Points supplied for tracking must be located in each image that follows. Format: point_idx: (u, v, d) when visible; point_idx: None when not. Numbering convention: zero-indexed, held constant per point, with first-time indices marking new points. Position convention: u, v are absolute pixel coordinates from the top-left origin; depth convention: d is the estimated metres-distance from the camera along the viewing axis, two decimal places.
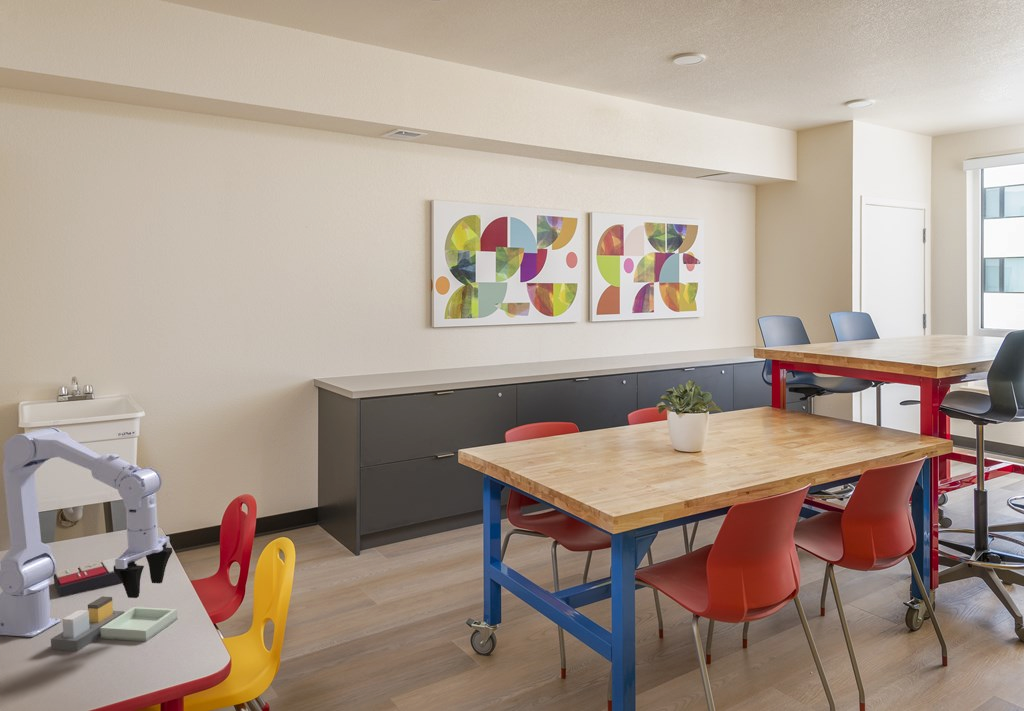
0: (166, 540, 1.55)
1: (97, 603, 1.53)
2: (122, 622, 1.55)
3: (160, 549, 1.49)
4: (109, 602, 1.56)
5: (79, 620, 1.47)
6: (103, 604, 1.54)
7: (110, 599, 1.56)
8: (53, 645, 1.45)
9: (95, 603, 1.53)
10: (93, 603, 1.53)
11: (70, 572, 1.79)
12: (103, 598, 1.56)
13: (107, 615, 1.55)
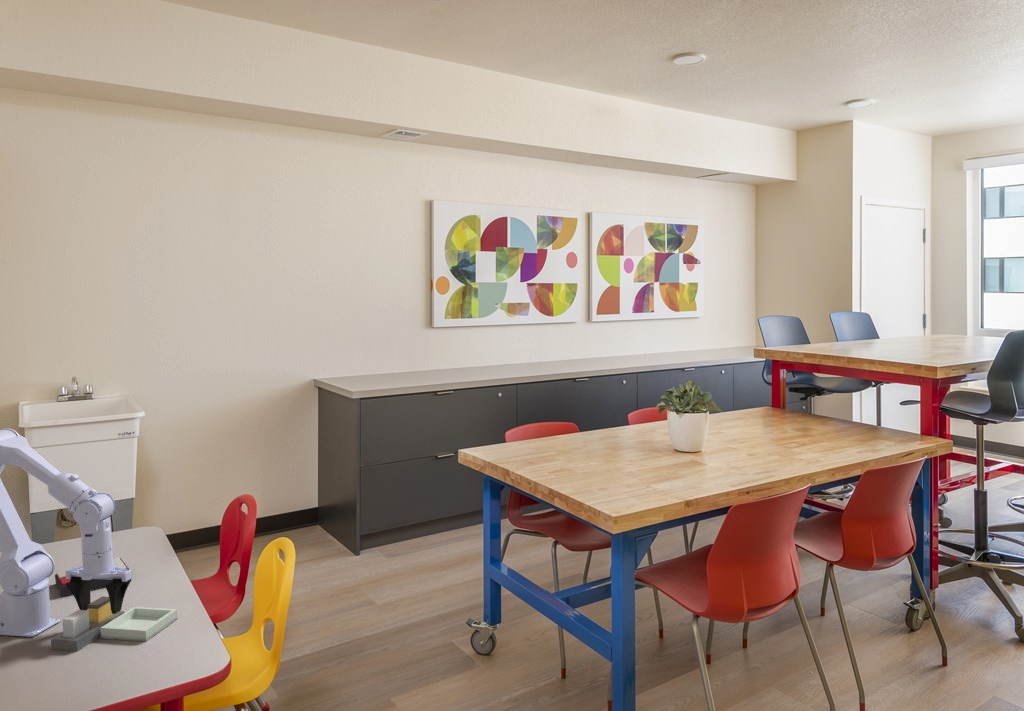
0: (120, 575, 1.52)
1: (97, 603, 1.53)
2: (122, 622, 1.55)
3: (84, 578, 1.50)
4: (109, 602, 1.56)
5: (79, 620, 1.47)
6: (103, 604, 1.54)
7: None
8: (53, 645, 1.45)
9: (95, 603, 1.53)
10: (93, 603, 1.53)
11: None
12: (103, 598, 1.56)
13: (107, 615, 1.55)
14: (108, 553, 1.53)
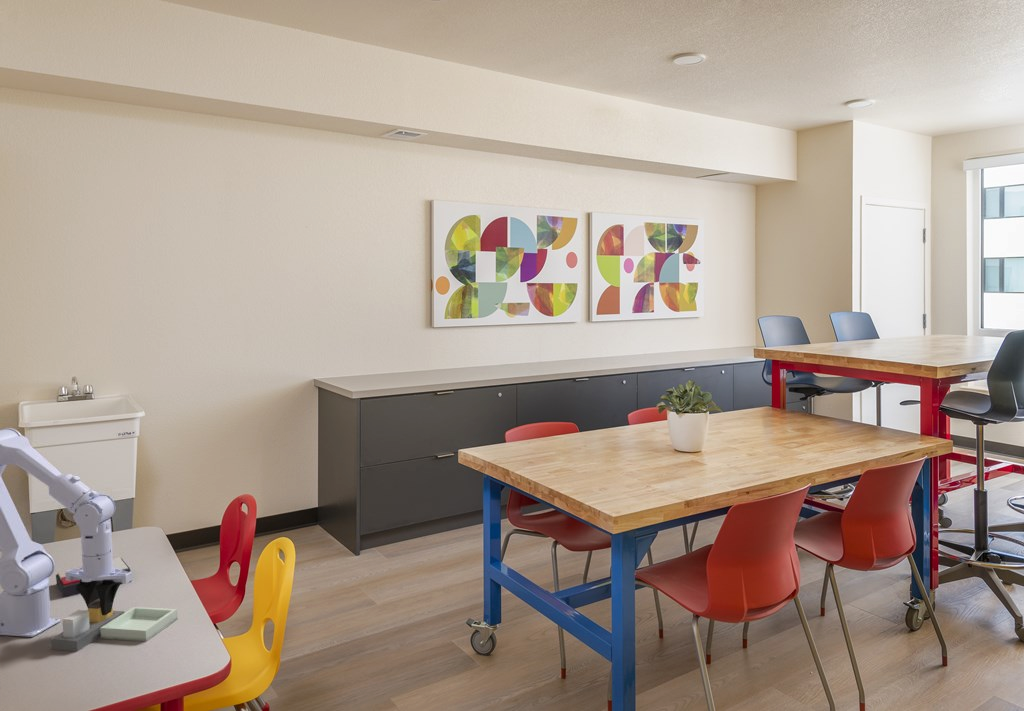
0: (120, 577, 1.52)
1: (97, 603, 1.53)
2: (122, 622, 1.55)
3: (84, 580, 1.50)
4: None
5: (79, 620, 1.47)
6: None
7: None
8: (53, 645, 1.45)
9: (95, 603, 1.53)
10: (93, 603, 1.53)
11: None
12: None
13: (107, 615, 1.55)
14: (108, 555, 1.53)
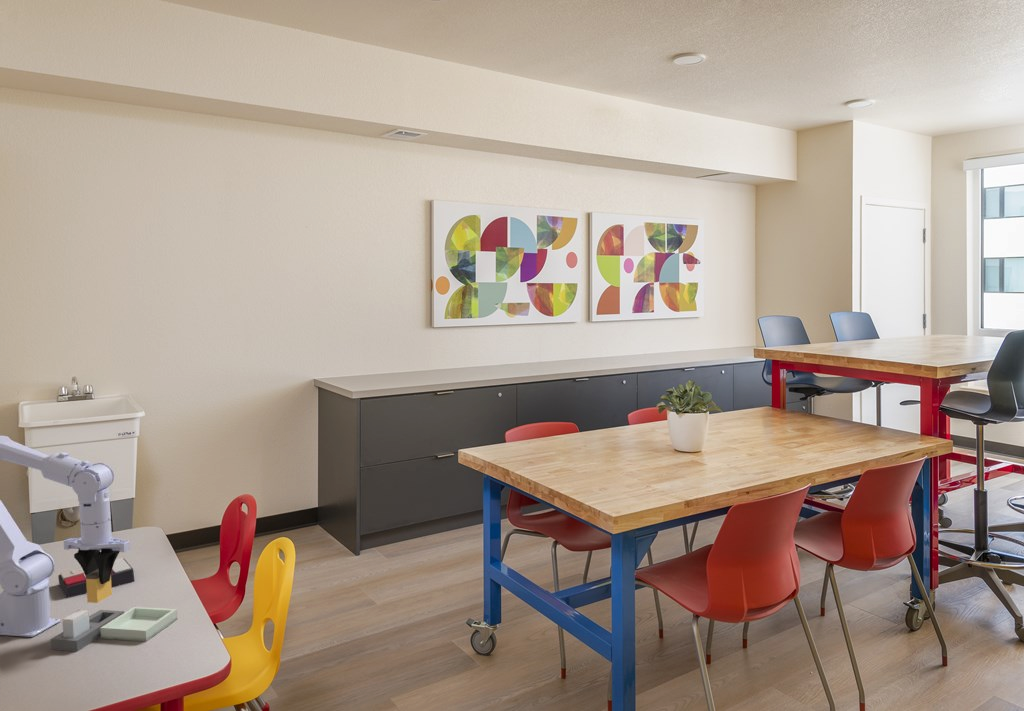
0: (118, 545, 1.52)
1: (95, 574, 1.53)
2: (122, 622, 1.55)
3: (82, 548, 1.50)
4: None
5: (79, 620, 1.47)
6: None
7: None
8: (53, 645, 1.45)
9: (94, 573, 1.53)
10: (91, 574, 1.53)
11: (75, 573, 1.78)
12: None
13: (105, 586, 1.55)
14: (106, 523, 1.53)
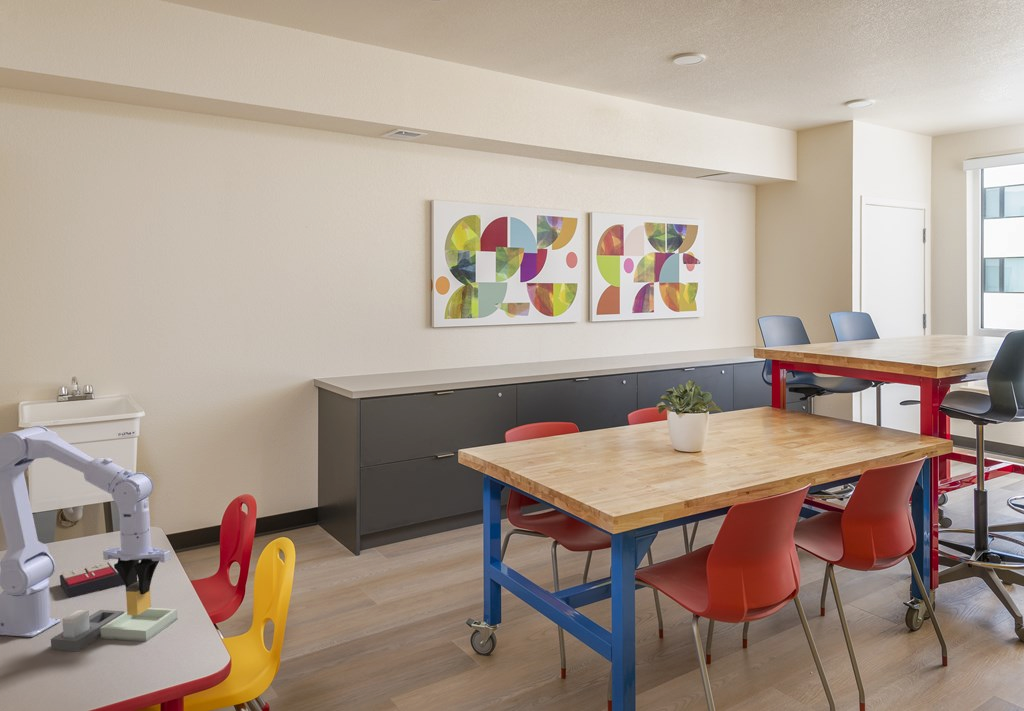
0: (158, 556, 1.51)
1: (135, 586, 1.52)
2: (122, 622, 1.55)
3: (123, 558, 1.49)
4: None
5: (79, 620, 1.47)
6: None
7: None
8: (53, 645, 1.45)
9: (133, 586, 1.52)
10: (131, 586, 1.52)
11: (77, 573, 1.78)
12: None
13: (145, 598, 1.54)
14: (146, 534, 1.52)
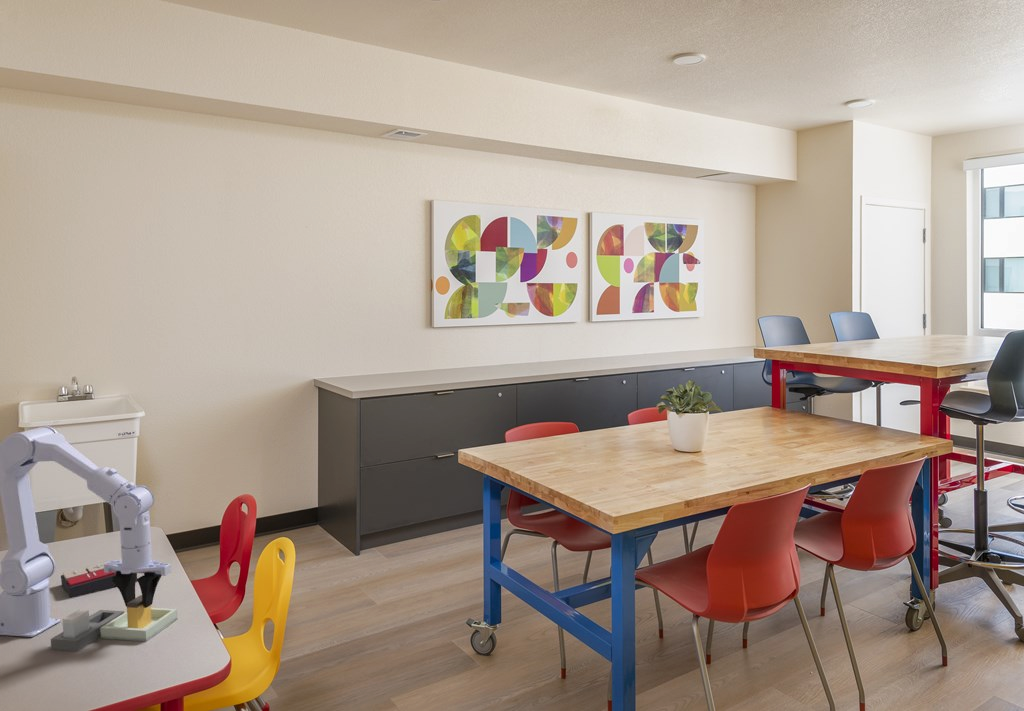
0: (159, 569, 1.51)
1: (136, 602, 1.52)
2: (122, 622, 1.55)
3: (124, 572, 1.49)
4: None
5: (79, 620, 1.47)
6: (142, 603, 1.53)
7: None
8: (53, 645, 1.45)
9: (134, 602, 1.52)
10: (132, 602, 1.52)
11: (78, 573, 1.78)
12: (141, 597, 1.55)
13: (145, 614, 1.54)
14: (147, 547, 1.52)
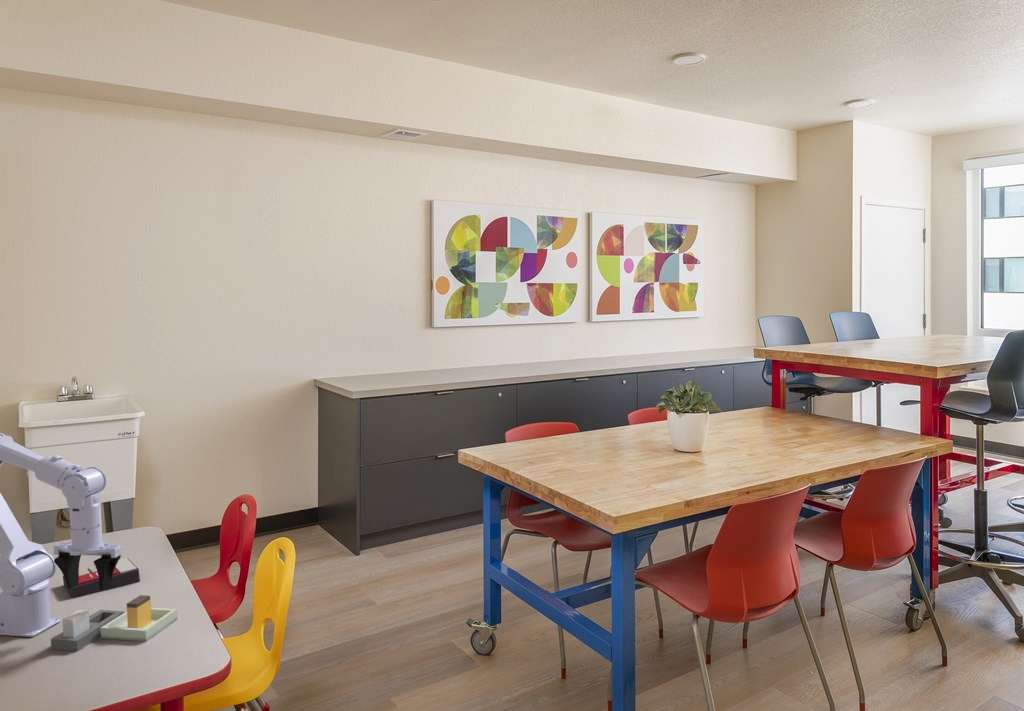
0: (109, 551, 1.49)
1: (136, 602, 1.52)
2: (122, 622, 1.55)
3: (72, 553, 1.48)
4: (147, 601, 1.55)
5: (79, 620, 1.47)
6: (142, 603, 1.53)
7: (148, 598, 1.55)
8: (53, 645, 1.45)
9: (134, 602, 1.52)
10: (132, 602, 1.52)
11: (80, 573, 1.78)
12: (141, 597, 1.55)
13: (145, 614, 1.54)
14: (97, 528, 1.50)
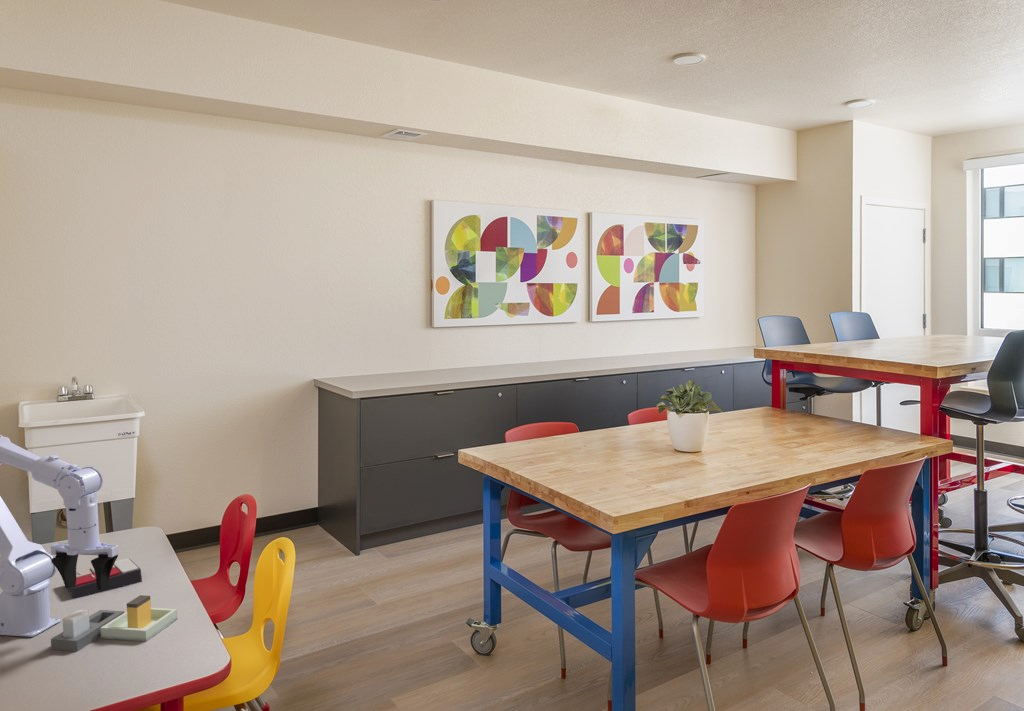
0: (106, 550, 1.49)
1: (136, 602, 1.52)
2: (122, 622, 1.55)
3: (69, 553, 1.47)
4: (147, 601, 1.55)
5: (79, 620, 1.47)
6: (142, 603, 1.53)
7: (148, 598, 1.55)
8: (53, 645, 1.45)
9: (134, 602, 1.52)
10: (132, 602, 1.52)
11: (82, 573, 1.78)
12: (141, 597, 1.55)
13: (145, 614, 1.54)
14: (94, 528, 1.50)
